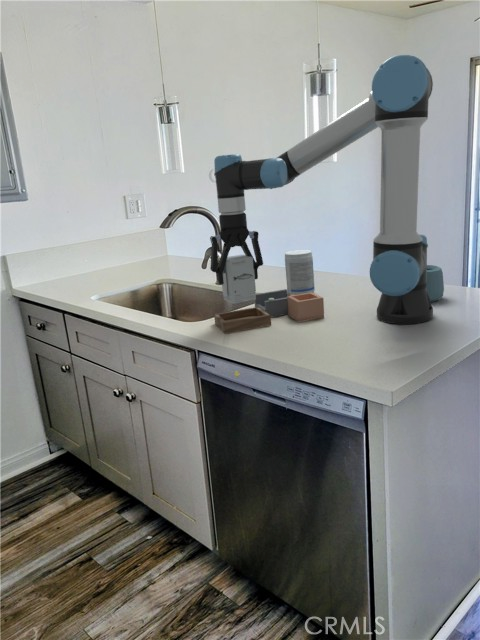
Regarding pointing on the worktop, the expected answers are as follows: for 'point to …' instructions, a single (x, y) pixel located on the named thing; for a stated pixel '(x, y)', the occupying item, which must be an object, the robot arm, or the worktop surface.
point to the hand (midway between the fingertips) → (239, 292)
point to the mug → (434, 282)
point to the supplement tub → (299, 272)
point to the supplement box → (239, 279)
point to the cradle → (273, 302)
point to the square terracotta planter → (305, 306)
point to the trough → (242, 319)
